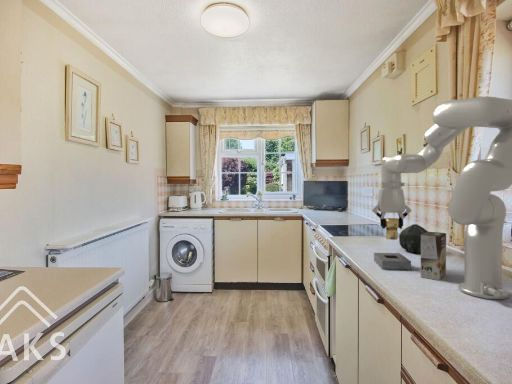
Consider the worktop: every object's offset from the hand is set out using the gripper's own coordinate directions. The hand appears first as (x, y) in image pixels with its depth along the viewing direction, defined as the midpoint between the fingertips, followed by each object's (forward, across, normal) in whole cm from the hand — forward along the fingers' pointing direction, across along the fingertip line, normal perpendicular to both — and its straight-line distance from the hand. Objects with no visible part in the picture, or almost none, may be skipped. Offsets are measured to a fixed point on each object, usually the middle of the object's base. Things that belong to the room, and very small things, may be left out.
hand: (391, 227), depth 127 cm
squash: (+16, -18, -27) cm, 36 cm away
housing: (+16, 0, 0) cm, 16 cm away
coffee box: (+16, -11, +13) cm, 24 cm away
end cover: (+5, 0, 0) cm, 5 cm away
